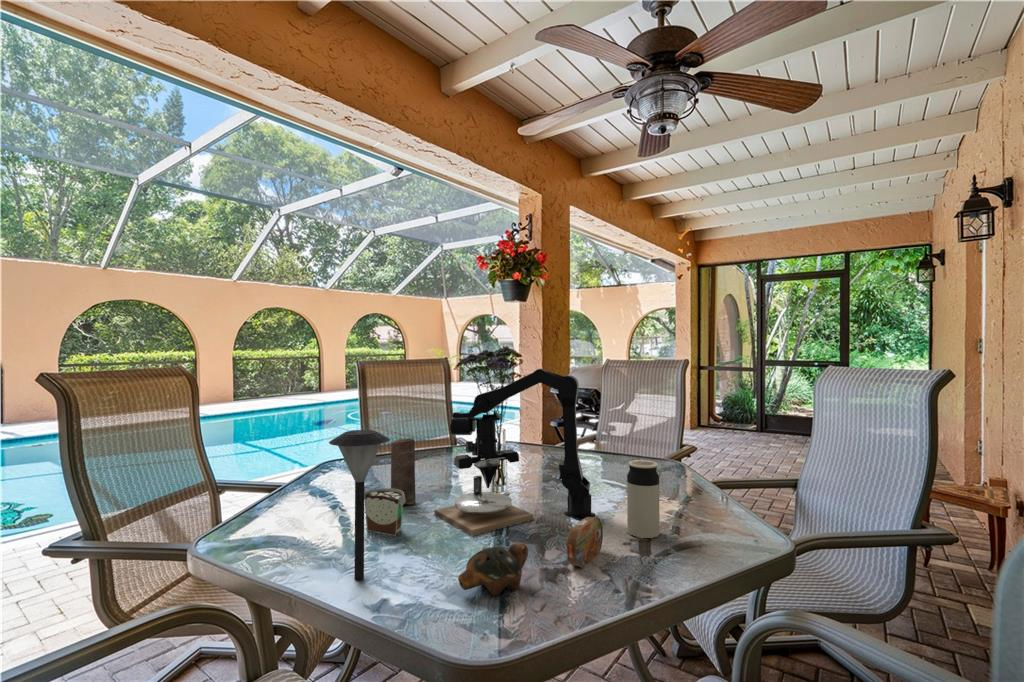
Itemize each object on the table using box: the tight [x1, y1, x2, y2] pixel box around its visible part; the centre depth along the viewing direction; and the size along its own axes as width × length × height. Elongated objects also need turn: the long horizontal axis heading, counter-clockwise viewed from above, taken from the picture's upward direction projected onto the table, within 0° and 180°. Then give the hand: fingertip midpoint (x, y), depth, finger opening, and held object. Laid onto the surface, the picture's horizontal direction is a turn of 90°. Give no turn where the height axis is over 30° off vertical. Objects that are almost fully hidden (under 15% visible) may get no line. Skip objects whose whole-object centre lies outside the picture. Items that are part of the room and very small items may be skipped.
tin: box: [566, 516, 604, 569], centre depth 110 cm, size 15×3×8 cm, turn 148°
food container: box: [364, 487, 406, 537], centre depth 128 cm, size 12×6×10 cm, turn 65°
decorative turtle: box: [457, 542, 529, 597], centre depth 96 cm, size 10×15×8 cm, turn 125°
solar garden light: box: [328, 429, 391, 582], centre depth 100 cm, size 12×12×30 cm
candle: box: [390, 437, 416, 505], centre depth 150 cm, size 8×7×20 cm
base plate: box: [434, 504, 534, 537], centre depth 137 cm, size 20×20×2 cm
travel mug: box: [626, 459, 661, 539], centre depth 125 cm, size 8×8×18 cm
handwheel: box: [454, 475, 513, 514], centre depth 138 cm, size 16×16×8 cm
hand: (487, 487), depth 145 cm, fingers closed
